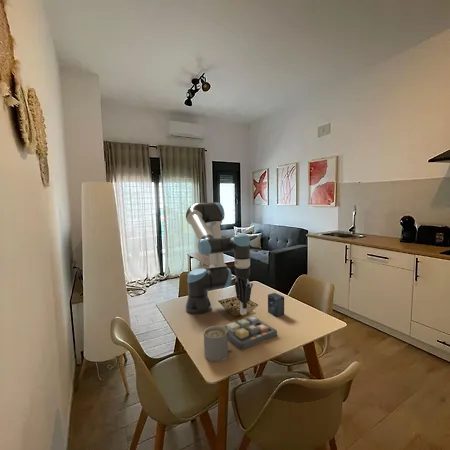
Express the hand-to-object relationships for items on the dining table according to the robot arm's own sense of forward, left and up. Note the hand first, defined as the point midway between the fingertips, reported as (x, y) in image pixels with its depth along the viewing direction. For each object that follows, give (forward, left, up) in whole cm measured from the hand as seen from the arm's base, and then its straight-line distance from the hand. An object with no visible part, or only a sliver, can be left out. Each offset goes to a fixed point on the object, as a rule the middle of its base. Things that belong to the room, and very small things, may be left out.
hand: (243, 313), depth 127 cm
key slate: (0, +6, -6) cm, 8 cm away
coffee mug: (+8, -19, -9) cm, 23 cm away
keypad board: (+3, 0, -9) cm, 10 cm away
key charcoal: (+7, 0, -6) cm, 9 cm away
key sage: (0, 0, -6) cm, 6 cm away
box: (-6, +27, -9) cm, 29 cm away
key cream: (0, -6, -6) cm, 8 cm away
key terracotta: (+7, +6, -8) cm, 12 cm away
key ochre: (+7, -6, -6) cm, 11 cm away
